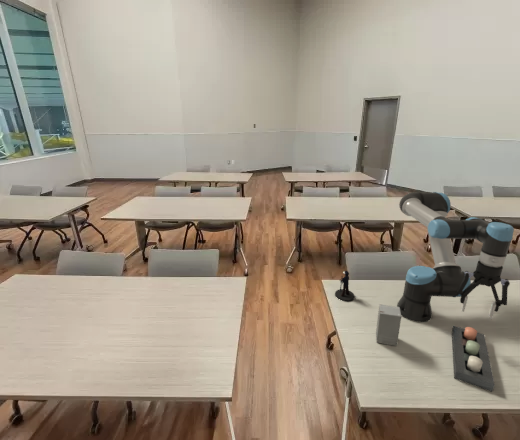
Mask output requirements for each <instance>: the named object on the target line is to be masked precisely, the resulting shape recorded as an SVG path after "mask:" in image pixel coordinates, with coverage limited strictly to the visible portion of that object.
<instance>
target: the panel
mask: <svg viewBox="0 0 520 440" xmlns="http://www.w3.org/2000/svg"><path fill="white" fill-rule="evenodd" d="M464 332H465V328H463V327H460V326H455V325H452V328H451V345H452V346H451V348H452V363H453V379H456V380H458V381H460V382H463V383H466V384H468V385H471V386H473V387H477V388H479V389H482V390H485V391H488V392H490V393H492V392H493V391H494V388H495V379H494V376H493V371H492V370H493V369H492V365H491V360H490V356H489V351H488V345H487V341H486V337H485V334H484V333H480V332H478V331H477V335H476V338H475V340H474V341H475V342H477V343H478V344H479V345H480V348H479V351H478V354H477V355H471V354H469V353H467V352H466V351H465V348H466V344H467V341H469V340H468V339H466V338H465V337H464V336H463V335H464ZM470 356H476V357H478V358H480V359H481V360H482V362H483V364H482V367H481V370H480V372H474V371H471V370H470V369H469V368H468V367H467V363H468V359H469V357H470Z"/></svg>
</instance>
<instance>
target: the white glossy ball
mask: <svg viewBox="0 0 520 440" xmlns="http://www.w3.org/2000/svg"><path fill="white" fill-rule="evenodd" d="M482 364H483V362H482V360H481V359H480V358H478V357H476V356H470V357H469V359H468V363H467V367H468V368H469V369H470V370H471V371H474V372H480V370H481V367H482Z"/></svg>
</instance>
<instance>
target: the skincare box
mask: <svg viewBox="0 0 520 440" xmlns="http://www.w3.org/2000/svg"><path fill="white" fill-rule="evenodd" d="M378 305H379V306H378V311H377V312H378V313H377V320H376V329H375V330H376V331H375V337H376V339H375V341H376V343H379V344H383V345H388V346H389V345H390V346H393V347H397V346H398V341H399V334H400V328H401V321H402V317H403V316H402V315H401V311H400V307H397V306H396V305H395V306H393V305H387V304H380V303H379V304H378Z"/></svg>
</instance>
